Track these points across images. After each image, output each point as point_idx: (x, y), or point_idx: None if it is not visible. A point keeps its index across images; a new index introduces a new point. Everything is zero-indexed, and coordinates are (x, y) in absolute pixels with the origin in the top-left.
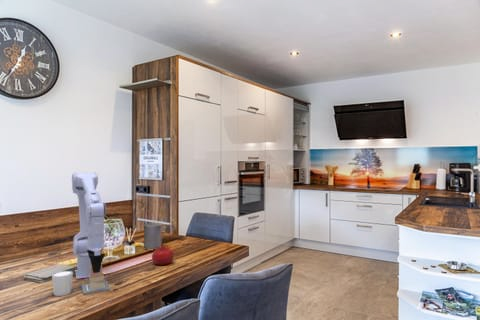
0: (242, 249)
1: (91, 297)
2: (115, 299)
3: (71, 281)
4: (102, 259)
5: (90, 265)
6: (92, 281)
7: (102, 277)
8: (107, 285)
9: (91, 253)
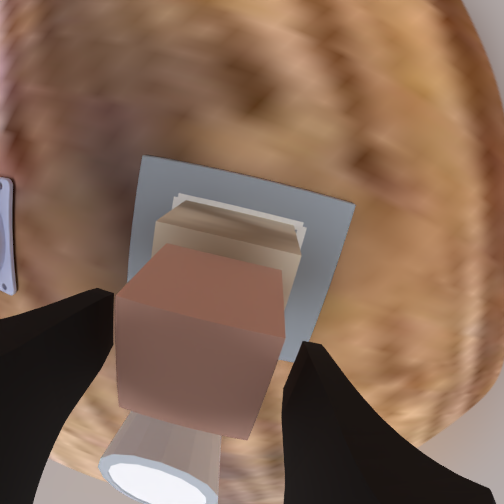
0: None
1: (375, 334)
2: (498, 243)
3: (193, 431)
4: (430, 461)
5: (154, 415)
6: None
7: (295, 271)
8: (272, 192)
9: (22, 476)
